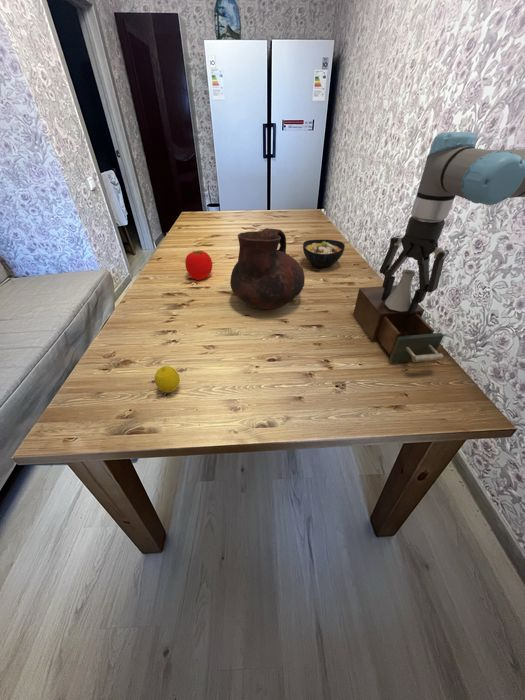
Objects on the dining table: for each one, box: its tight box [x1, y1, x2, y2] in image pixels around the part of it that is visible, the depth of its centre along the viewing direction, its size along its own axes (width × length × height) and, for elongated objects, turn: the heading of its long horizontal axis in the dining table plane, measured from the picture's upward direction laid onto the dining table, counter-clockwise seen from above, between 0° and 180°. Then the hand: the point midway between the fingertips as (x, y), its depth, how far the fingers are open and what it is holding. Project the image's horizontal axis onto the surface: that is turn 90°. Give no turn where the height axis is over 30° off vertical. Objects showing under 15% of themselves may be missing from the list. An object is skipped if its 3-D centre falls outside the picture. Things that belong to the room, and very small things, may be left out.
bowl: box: [302, 239, 346, 270], centre depth 121 cm, size 17×17×10 cm
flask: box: [385, 269, 417, 312], centre depth 76 cm, size 7×7×10 cm
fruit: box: [154, 365, 181, 393], centre depth 67 cm, size 6×6×8 cm
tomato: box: [184, 250, 214, 281], centre depth 113 cm, size 10×11×11 cm
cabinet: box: [352, 284, 425, 343], centre depth 86 cm, size 15×13×10 cm
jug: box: [229, 227, 306, 310], centre depth 94 cm, size 25×25×25 cm
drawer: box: [376, 313, 445, 364], centre depth 76 cm, size 19×12×8 cm, turn 7°
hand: (398, 304), depth 79 cm, fingers closed on flask, 8 cm apart
